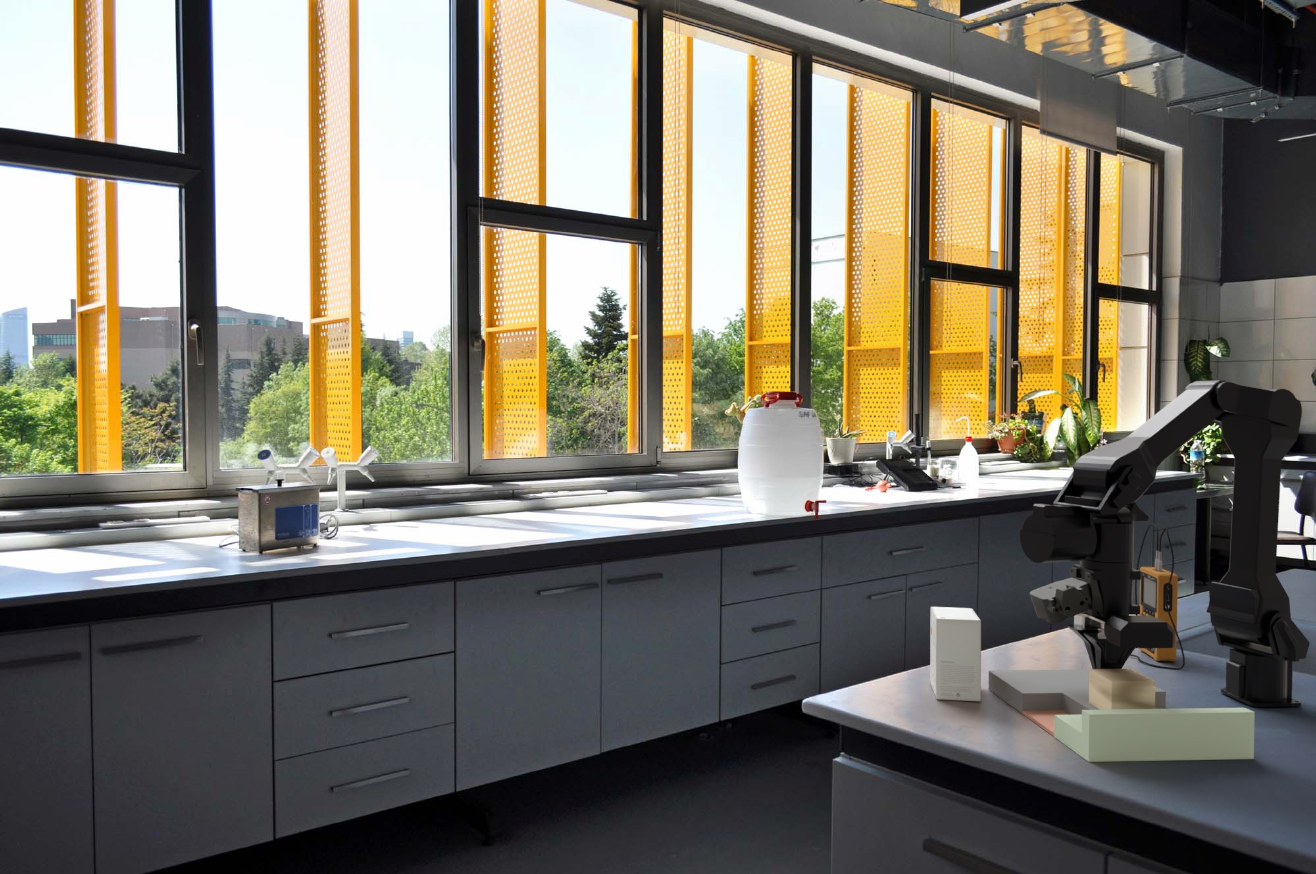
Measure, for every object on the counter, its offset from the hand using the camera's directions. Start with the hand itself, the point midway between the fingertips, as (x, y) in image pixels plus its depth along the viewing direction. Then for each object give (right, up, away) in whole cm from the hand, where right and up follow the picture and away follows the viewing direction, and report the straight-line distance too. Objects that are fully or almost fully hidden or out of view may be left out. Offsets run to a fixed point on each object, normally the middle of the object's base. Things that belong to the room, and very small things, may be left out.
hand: (1103, 688), depth 110 cm
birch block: (0, -1, -4) cm, 4 cm away
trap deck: (0, -4, 0) cm, 4 cm away
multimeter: (+19, -3, +29) cm, 35 cm away
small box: (-14, -4, +11) cm, 18 cm away
